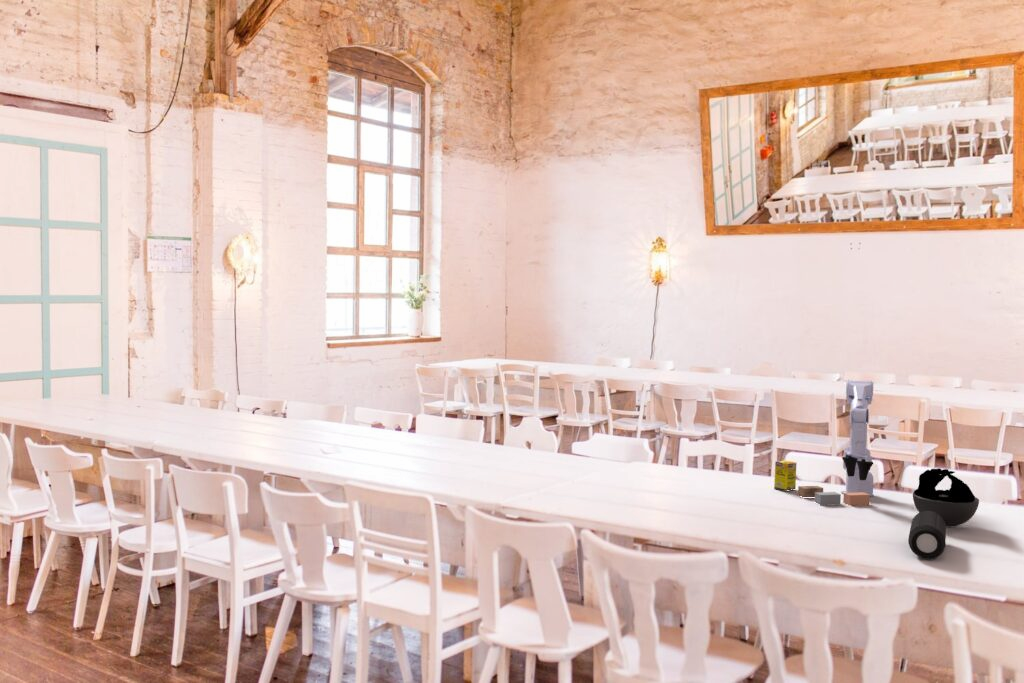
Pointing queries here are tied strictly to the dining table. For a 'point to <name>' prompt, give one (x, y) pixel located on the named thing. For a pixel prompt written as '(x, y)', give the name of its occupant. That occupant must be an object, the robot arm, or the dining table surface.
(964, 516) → the coal bowl
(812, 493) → the walnut brick
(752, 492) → the dining table surface
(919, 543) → the portable speaker
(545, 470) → the dining table surface
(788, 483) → the supplement box
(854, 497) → the terracotta brick
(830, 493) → the slate-grey brick
